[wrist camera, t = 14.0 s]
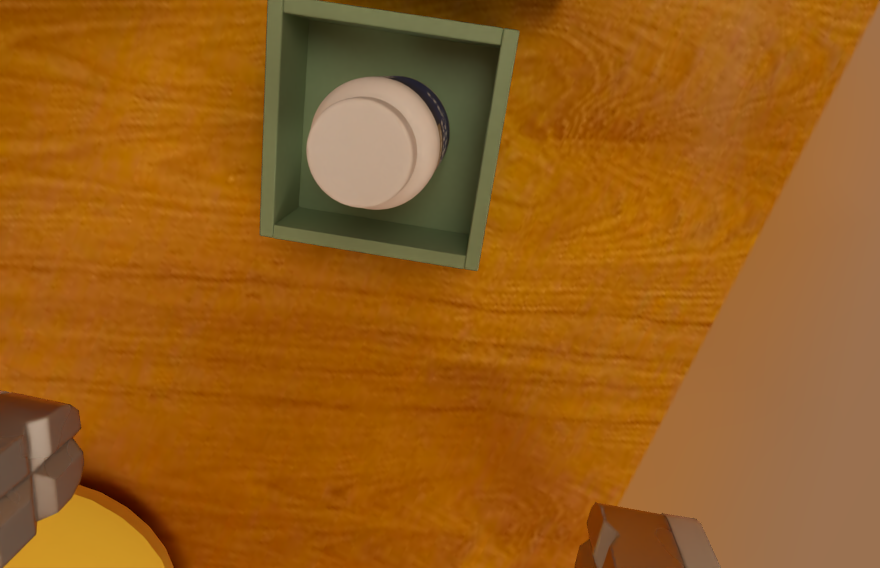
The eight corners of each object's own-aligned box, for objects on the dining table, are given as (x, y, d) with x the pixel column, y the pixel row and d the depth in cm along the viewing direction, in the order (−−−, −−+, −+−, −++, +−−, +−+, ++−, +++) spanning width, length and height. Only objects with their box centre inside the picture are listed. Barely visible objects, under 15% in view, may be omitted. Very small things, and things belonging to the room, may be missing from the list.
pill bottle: (465, 163, 31) (452, 203, 22) (370, 195, 32) (320, 245, 23) (431, 59, 29) (401, 55, 20) (332, 95, 30) (262, 107, 21)
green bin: (516, 36, 29) (520, 30, 25) (480, 245, 33) (477, 271, 29) (300, 3, 30) (267, -8, 25) (289, 214, 33) (258, 236, 29)
